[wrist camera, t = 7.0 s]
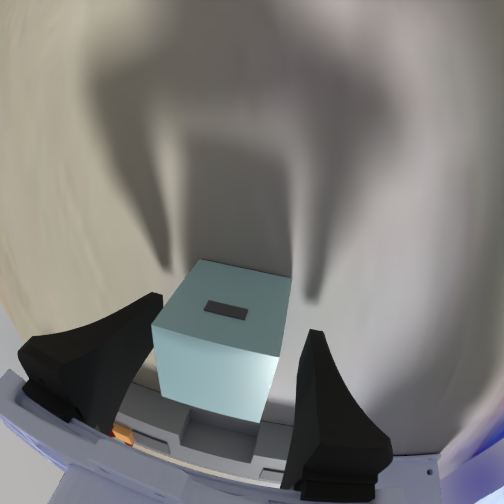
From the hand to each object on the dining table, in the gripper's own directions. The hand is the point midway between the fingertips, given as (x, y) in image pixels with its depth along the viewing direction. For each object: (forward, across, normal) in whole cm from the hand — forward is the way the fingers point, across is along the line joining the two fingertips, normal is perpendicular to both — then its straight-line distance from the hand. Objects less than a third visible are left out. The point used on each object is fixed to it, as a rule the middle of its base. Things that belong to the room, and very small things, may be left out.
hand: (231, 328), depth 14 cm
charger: (+2, 0, +1) cm, 2 cm away
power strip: (+2, 0, +14) cm, 14 cm away
